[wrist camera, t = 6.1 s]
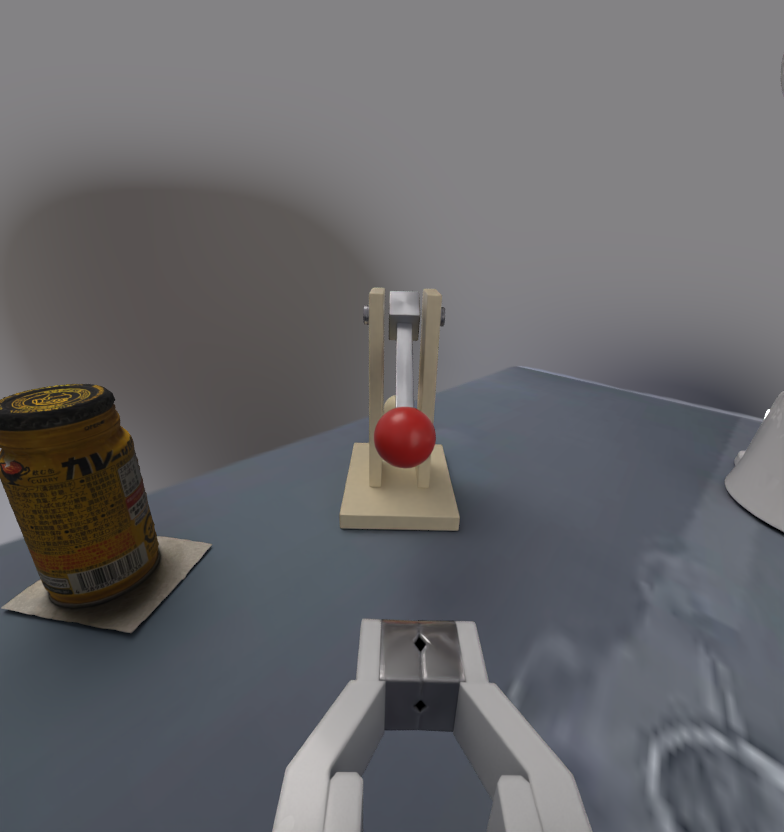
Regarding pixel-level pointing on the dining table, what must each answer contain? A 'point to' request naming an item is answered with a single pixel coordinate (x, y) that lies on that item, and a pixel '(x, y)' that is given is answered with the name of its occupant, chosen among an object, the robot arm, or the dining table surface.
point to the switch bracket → (381, 482)
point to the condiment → (84, 510)
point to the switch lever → (404, 392)
